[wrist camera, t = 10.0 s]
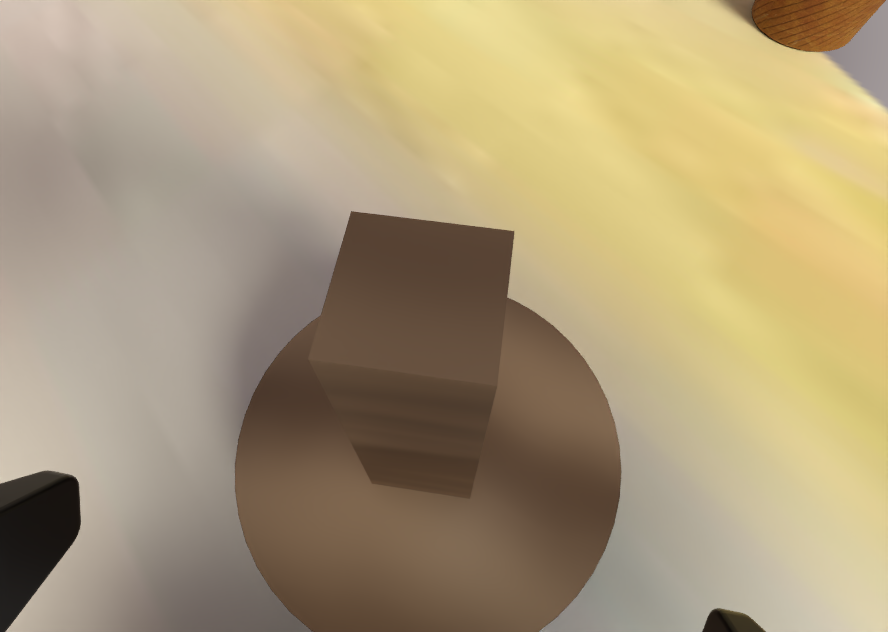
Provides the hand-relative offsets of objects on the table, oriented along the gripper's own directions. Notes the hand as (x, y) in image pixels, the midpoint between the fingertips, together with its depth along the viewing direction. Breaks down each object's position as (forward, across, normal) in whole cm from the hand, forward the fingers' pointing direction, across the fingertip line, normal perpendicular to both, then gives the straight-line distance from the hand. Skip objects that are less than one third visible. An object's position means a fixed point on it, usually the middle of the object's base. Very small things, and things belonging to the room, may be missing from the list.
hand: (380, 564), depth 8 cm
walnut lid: (+10, 0, +4) cm, 10 cm away
